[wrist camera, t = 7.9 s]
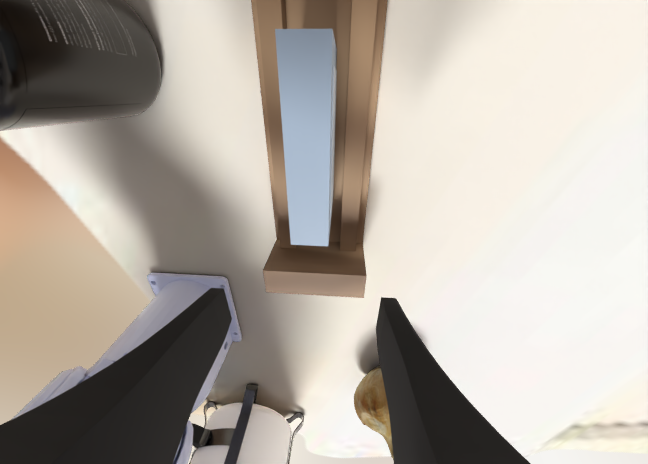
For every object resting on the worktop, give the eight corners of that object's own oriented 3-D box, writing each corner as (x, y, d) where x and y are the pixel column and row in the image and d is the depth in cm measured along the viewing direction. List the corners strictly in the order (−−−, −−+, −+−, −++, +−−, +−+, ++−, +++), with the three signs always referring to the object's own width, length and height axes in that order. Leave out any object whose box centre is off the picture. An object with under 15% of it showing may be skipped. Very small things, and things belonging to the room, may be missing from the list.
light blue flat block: (333, 201, 18) (329, 246, 13) (305, 200, 18) (289, 244, 13) (337, 50, 14) (333, 28, 9) (300, 50, 14) (273, 28, 9)
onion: (432, 364, 29) (460, 451, 22) (392, 394, 33) (405, 476, 26) (377, 342, 28) (388, 426, 21) (342, 375, 31) (341, 456, 25)
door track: (359, 256, 22) (363, 297, 17) (281, 252, 22) (266, 292, 18) (394, -91, 12) (423, -194, 7) (247, -86, 12) (194, -181, 8)
